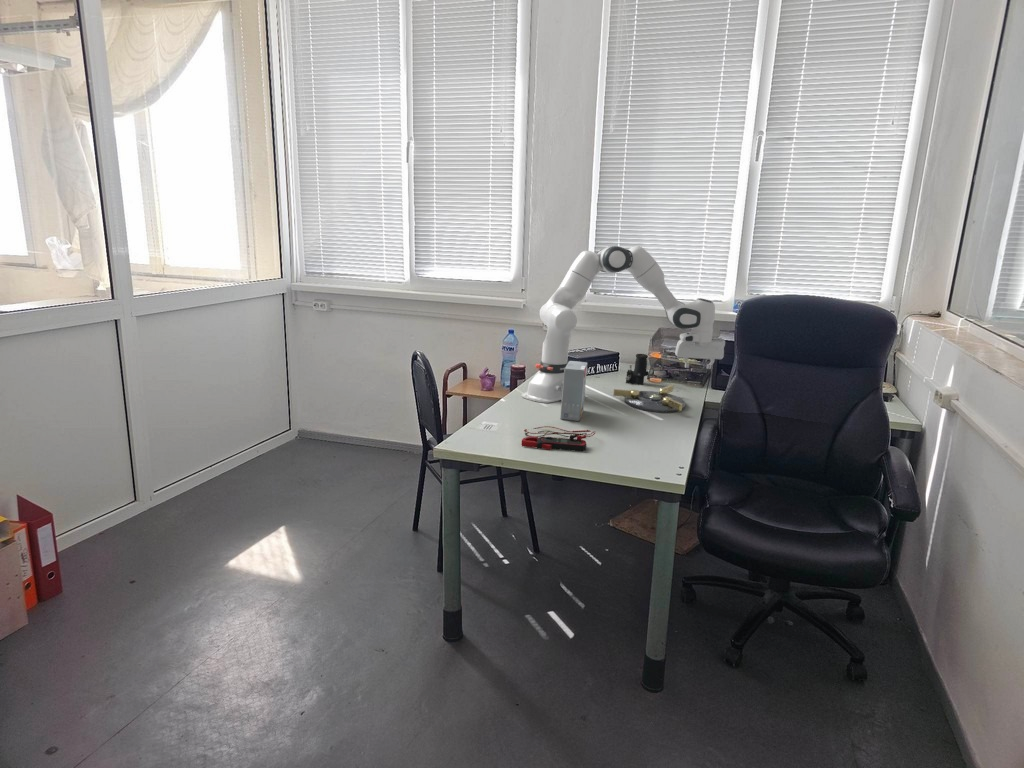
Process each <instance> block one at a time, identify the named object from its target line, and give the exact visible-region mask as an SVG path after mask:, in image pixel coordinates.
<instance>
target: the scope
mask: <svg viewBox="0 0 1024 768" xmlns="http://www.w3.org/2000/svg"><path fill="white" fill-rule="evenodd" d="M648 357H649V355H648V354H645V353H636V354H635V363H634V369H633V370H632V366H633V365H632V364H629V369H627V371H626V376H625V383H626V384H632V385H638V386H639V385H641V386H643V385H644V383H645V382H644V381H645V378H646V377H648V376H649V373H650V372H649V371H648V370H647V367H648Z"/></svg>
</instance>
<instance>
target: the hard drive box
mask: <svg viewBox="0 0 1024 768" xmlns="http://www.w3.org/2000/svg"><path fill="white" fill-rule="evenodd" d="M567 362H568V364H567V365H566V367H565V369H564V380H563V392H562V400H561V404H560V415H559V416H560V417H559V419H560V420H566V421H567V420H569V421H574V422H575V421H578V422H579V421H581V418H582V415H583V412H584V405H585V396H586V395H585V394H586V384H587V375H588V374H587V373H588V362H584V361H577V360H576V361H575V360H568V361H567Z"/></svg>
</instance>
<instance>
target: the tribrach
mask: <svg viewBox="0 0 1024 768" xmlns="http://www.w3.org/2000/svg"><path fill="white" fill-rule="evenodd" d="M638 391H639V398H632V397H624V403H625V404H626V405H627V406H628V407H631V408H634V409H637V410H639V411H644V412H651V413H660V414H661V413H662V414H664V413H665V414H668V413H669V414H671V413H679V412H680V411H679V410H677V409H674V408H672V407H670V406H668V405H663V397H670V398H672V400H675V401H677V402H679V403H681V404H683V405H682V410H681V411H683V410H685V407H686V401H685V400H684V399H683V398H682V397H679V396H677V395H674V394H670V393H668V395H667V396H662V395H659V391H652V390H651V391H649V390H638Z"/></svg>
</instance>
